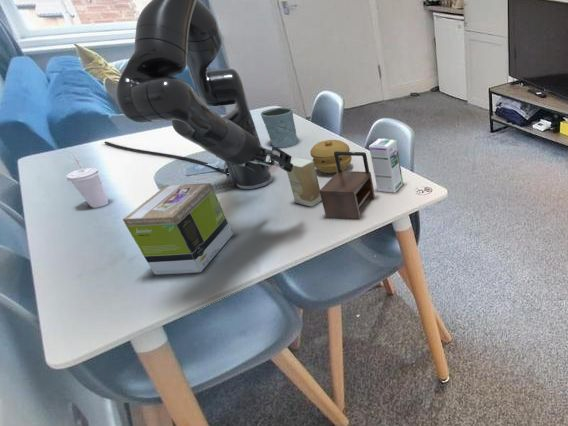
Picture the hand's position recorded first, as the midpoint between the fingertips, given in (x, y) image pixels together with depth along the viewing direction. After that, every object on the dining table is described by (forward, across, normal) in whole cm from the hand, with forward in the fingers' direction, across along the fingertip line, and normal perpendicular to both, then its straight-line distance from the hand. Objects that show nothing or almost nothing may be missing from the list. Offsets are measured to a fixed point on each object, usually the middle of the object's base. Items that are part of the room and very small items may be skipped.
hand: (273, 167), depth 103 cm
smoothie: (+14, +57, +8) cm, 59 cm away
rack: (+17, -13, +5) cm, 22 cm away
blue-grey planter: (+48, +30, -26) cm, 62 cm away
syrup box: (+25, -20, -4) cm, 32 cm away
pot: (+33, +2, -11) cm, 35 cm away
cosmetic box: (+18, 0, +4) cm, 18 cm away
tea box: (0, +14, +22) cm, 26 cm away
